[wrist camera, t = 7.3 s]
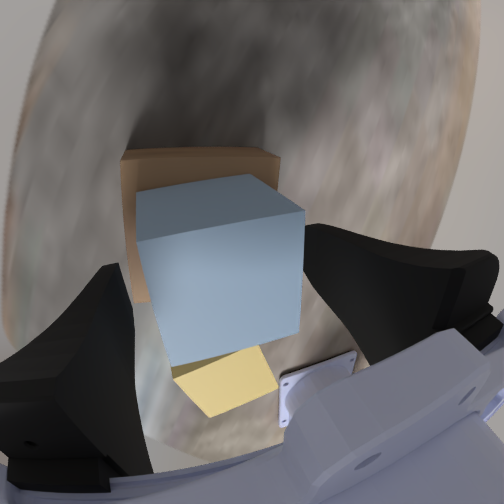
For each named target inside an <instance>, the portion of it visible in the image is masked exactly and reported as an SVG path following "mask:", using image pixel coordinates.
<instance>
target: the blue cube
mask: <svg viewBox="0 0 504 504" xmlns="http://www.w3.org/2000/svg"><path fill="white" fill-rule="evenodd" d="M304 234H305V210H304V209H302V208H301V207H299V206H298V205H296V204H295V203H293V202H292V201H291V200H289V199H288V198H286V197H285V196H283V195H282V194H280V193H279V192H277V191H276V190H274V189H273V188H271V187H270V186H268V185H267V184H265V183H264V182H262V181H261V180H259V179H257V178H256V177H254V176H253V175H251V174H243V175H236V176H229V177H222V178H215V179H208V180H202V181H196V182H190V183H184V184H178V185H172V186H167V187H161V188H156V189H150V190H145V191H140V192H136V243H137V248H138V252H139V256H140V260H141V265H142V269H143V273H144V277H145V280H146V284H147V288H148V292H149V296H150V299H151V303H152V306H153V310H154V313H155V317H156V320H157V324H158V327H159V330H160V333H161V337H162V340H163V343H164V346H165V349H166V352H167V355H168V358H169V361H170V364H171V367H174V366H178V365H183V364H187V363H191V362H196V361H200V360H204V359H208V358H212V357H216V356H220V355H224V354H227V353H231V352H235V351H238V350H242V349H246V348H249V347H253V346H256V345H260V344H263V343H267V342H270V341H273V340H277V339H280V338H283V337H286V336H290V335H293V334H296V333H299V324H300V310H301V294H302V277H303V257H304Z"/></svg>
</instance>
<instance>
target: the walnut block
mask: <svg viewBox="0 0 504 504" xmlns="http://www.w3.org/2000/svg"><path fill="white" fill-rule="evenodd" d="M120 168H121V190H122V205H123V218H124V229H125V240H126V249H127V257H128V265H129V273H130V280H131V287H132V293H133V300H134V303H142V302H151V299H150V296H149V292H148V288H147V284H146V280H145V277H144V273H143V269H142V265H141V260H140V256H139V252H138V248H137V243H136V192H140V191H145V190H150V189H156V188H161V187H167V186H172V185H178V184H184V183H190V182H196V181H202V180H208V179H215V178H222V177H229V176H236V175H243V174H251V175H253V176H254V177H256V178H257V179H259V180H261V181H262V182H264V183H265V184H267V185H268V186H270V187H271V188H273V189H274V190H276V191H277V188H278V178H279V168H280V157H278V156H275V155H273V154H271V153H269V152H266V151H264V150H262V149H259V148H257V147H170V148H148V149H132V150H125V152H124V154H123V156H122V158H121V160H120Z"/></svg>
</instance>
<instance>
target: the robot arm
mask: <svg viewBox="0 0 504 504" xmlns="http://www.w3.org/2000/svg"><path fill="white" fill-rule="evenodd" d="M303 271H304V273H305V274H306V276H307V278H308V279H309V281H310V283H311V284H312V286H313V287H314V289H315V290H316V291H317V293H318V294H319V295H320V296H321V297H322V299H323V300H324V301H325V302H326V303H327V305H328V306H329V307H330V308H331V309H332V311H333V312H334V313H335V314H336V315H337V316H338V318H339V319H340V320H341V321H342V322H343V324H344V325H345V326H346V328H347V329H348V330H349V332H350V333H351V335H352V336H353V338H354V339H355V341H356V343H357V344H358V346H359V347H360V349H361V351H362V352H363V354H364V356H365V358H366V359H367V361H368V363H369V365H370V366H369V367H367V368H365V369H362V370H360V371H358V372H356V373H353V374H352V371H353V368H354V364H355V360H356V356H357V353H356V352H355V351H354V350H353V351H350V352H348V353H345V354H342V355H340V356H337V357H335V358H332V359H329V360H327V361H324V362H321V363H318V364H316V365H313V366H310V367H307V368H304V369H301V370H298V371H295V372H292V373H289V374H286V375H283V376H282V377H281V378H280V380H279V421H278V425H279V427H281V428H282V427H286V426H287V428H286V430H285V432H284V442H283V443H280V444H277V445H274V446H271V447H268V448H265V449H262V450H259V451H255V452H252V453H248V454H245V455H241V456H238V457H234V458H230V459H226V460H222V461H218V462H214V463H209V464H205V465H200V466H195V467H190V468H185V469H180V470H174V471H168V472H162V473H154V472H153V469H152V466H151V462H150V459H149V455H148V451H147V447H146V443H145V439H144V434H143V430H142V425H141V420H140V415H139V409H138V403H137V397H136V390H135V327H134V317H133V308H132V305H131V302H130V299H129V296H128V293H127V290H126V286H125V283H124V280H123V277H122V273H121V270H120V267H119V263H114V264H109V265H104V266H102V267H101V268H100V269H99V270H98V272H97V273H96V274H95V275H94V277H93V278H92V279H91V280H90V282H89V283H88V284H87V285H86V287H85V288H84V289H83V290H82V292H81V293H80V294H79V295H78V296H77V297H76V299H75V300H74V301H73V302H72V303H71V304H70V306H69V307H68V308H67V309H66V310H65V311H64V312H63V313H62V314H61V315H60V317H59V318H58V319H57V320H55V321H54V322H53V323H52V324H51V325H50V326H49V327H48V328H47V329H46V330H45V331H44V332H42V333H41V334H40V335H39V336H37V337H36V338H35V339H34V340H33V341H31V342H30V343H29V344H28V345H26V346H25V347H24V348H22V349H21V350H19V351H18V352H17V353H15V354H13V355H12V356H11V357H9V358H7V359H6V360H4V361H3V362H1V363H0V451H2V452H3V453H4V454H5V455H6V456H7V457H9V459H8V467H7V466H5V465H2V464H0V504H504V444H503V442H502V441H501V440H500V439H499V438H498V437H497V435H496V434H495V433H494V432H493V431H492V430H491V429H490V427H489V426H488V425H487V424H486V422H487V421H488V420H489V419H490V418H491V417H492V416H493V415H494V413H495V412H496V411H497V410H498V409H499V408H500V407H501V406H502V405H503V404H504V309H503V310H502V311H501V312H500V313H499V314H498V316H497V317H495V316H493V315H492V314H491V312H492V311H493V307H492V306H491V305H490V304H489V303H488V301H489V299H490V296H491V293H492V291H493V288H494V285H495V283H496V280H497V277H498V273H499V260H498V258H497V257H496V256H495V255H494V254H492V253H490V252H489V251H486V250H466V251H465V250H464V251H452V250H433V249H424V248H416V247H410V246H405V245H399V244H394V243H390V242H386V241H382V240H378V239H374V238H371V237H367V236H364V235H361V234H357V233H354V232H351V231H347V230H344V229H341V228H337V227H334V226H330V225H326V224H320V223H317V224H311V225H306V226H305V234H304V257H303Z"/></svg>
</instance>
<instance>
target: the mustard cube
mask: <svg viewBox="0 0 504 504" xmlns="http://www.w3.org/2000/svg"><path fill="white" fill-rule="evenodd" d="M170 365H171V364H170ZM171 371H172V376H173V380H174V381H175V382H176V383H177V384H178V385H179V386H180V387H181V389H182V390H183V391H184V392H185V393H186V394H187V395H188V396H189V397H190V398H191V399H192V400H193V401H194V402H195V403H196V405H197V406H198V407H199V408H200V409H201V410H202V411H203V412H204V413H205V414H206V415H207V416H208V417H209V418H211V417H213V416H216V415H218V414H221V413H223V412H226V411H228V410H231V409H233V408H235V407H238V406H240V405H242V404H245V403H247V402H249V401H251V400H254V399H256V398H258V397H260V396H263V395H265V394H267V393H269V392H271V391H273V390H275V389H278V388H279V386H278V384H277V382H276V380H275V378H274V376H273V374H272V372H271V370H270V368H269V366H268V364H267V362H266V360H265V358H264V356H263V354H262V352H261V349H260V347H259V345H256V346H253V347H249V348H246V349H242V350H238V351H235V352H231V353H227V354H224V355H220V356H216V357H212V358H208V359H204V360H200V361H196V362H191V363H187V364H183V365H178V366H174V367H171Z"/></svg>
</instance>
